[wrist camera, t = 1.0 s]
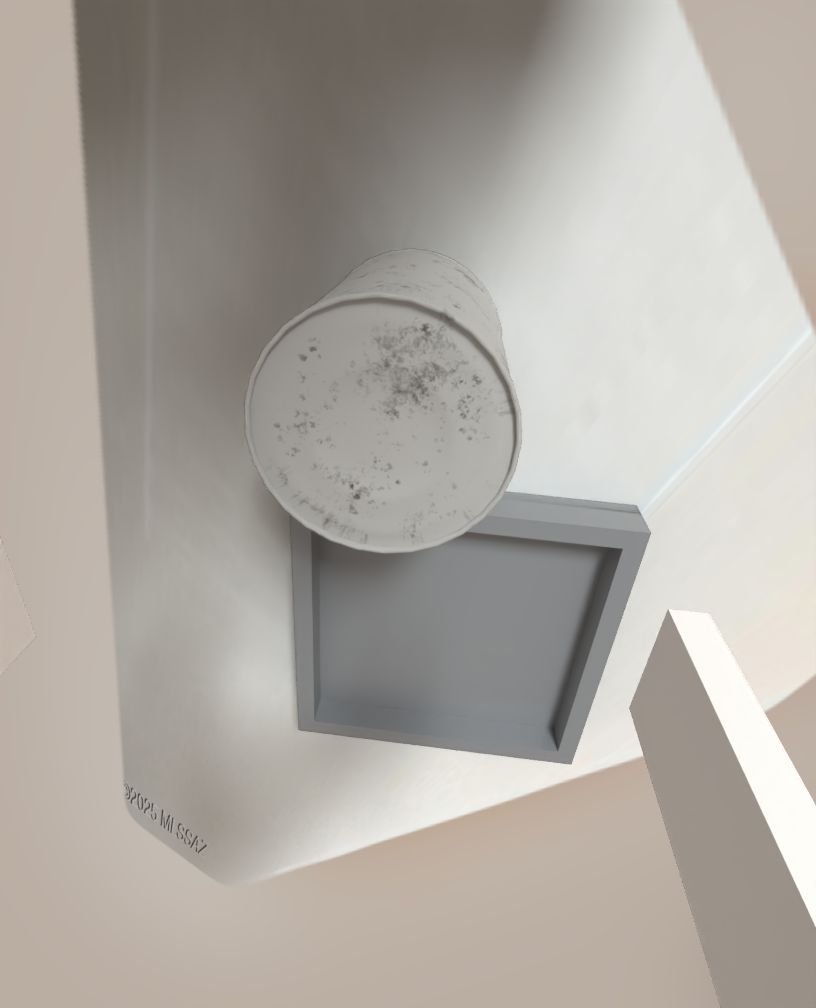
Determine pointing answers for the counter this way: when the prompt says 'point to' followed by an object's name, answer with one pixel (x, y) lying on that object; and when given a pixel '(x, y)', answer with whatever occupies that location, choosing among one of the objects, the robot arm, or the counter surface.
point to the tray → (467, 629)
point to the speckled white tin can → (388, 407)
